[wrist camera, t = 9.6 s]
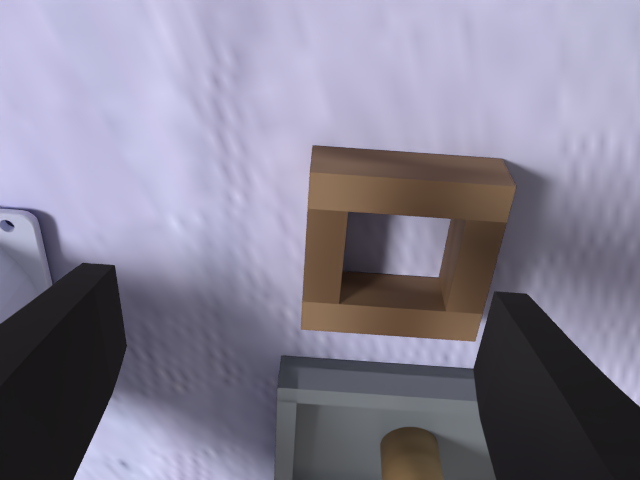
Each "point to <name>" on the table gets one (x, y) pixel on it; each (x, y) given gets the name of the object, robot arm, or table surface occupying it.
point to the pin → (410, 455)
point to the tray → (373, 418)
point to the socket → (410, 200)
